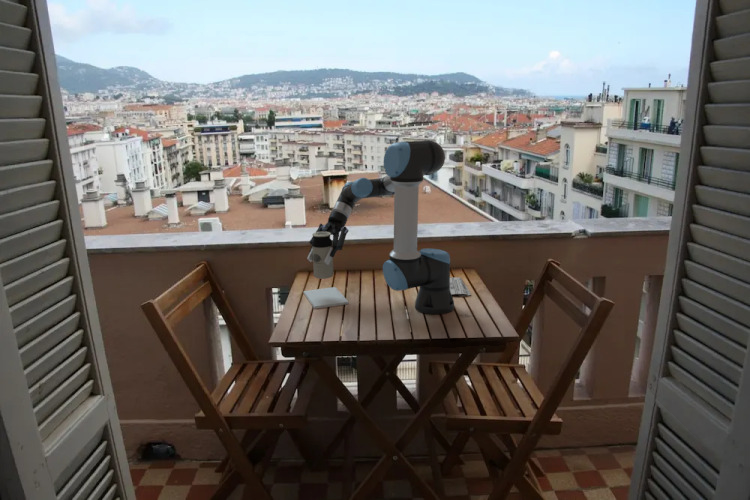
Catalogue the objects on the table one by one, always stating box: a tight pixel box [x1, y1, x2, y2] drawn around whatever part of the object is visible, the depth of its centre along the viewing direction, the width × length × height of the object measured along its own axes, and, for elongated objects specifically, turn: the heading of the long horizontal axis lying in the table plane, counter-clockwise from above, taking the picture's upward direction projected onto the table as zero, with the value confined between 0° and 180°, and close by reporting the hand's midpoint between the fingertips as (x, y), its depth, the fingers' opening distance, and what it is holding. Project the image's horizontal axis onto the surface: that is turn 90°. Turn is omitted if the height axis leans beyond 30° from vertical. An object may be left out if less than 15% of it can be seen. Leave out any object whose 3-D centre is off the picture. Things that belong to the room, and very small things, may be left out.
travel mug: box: [311, 231, 334, 280], centre depth 225 cm, size 8×8×18 cm
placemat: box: [303, 286, 349, 310], centre depth 229 cm, size 20×14×1 cm
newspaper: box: [450, 276, 472, 298], centre depth 239 cm, size 23×12×2 cm, turn 177°
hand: (317, 261), depth 223 cm, fingers closed on travel mug, 8 cm apart
